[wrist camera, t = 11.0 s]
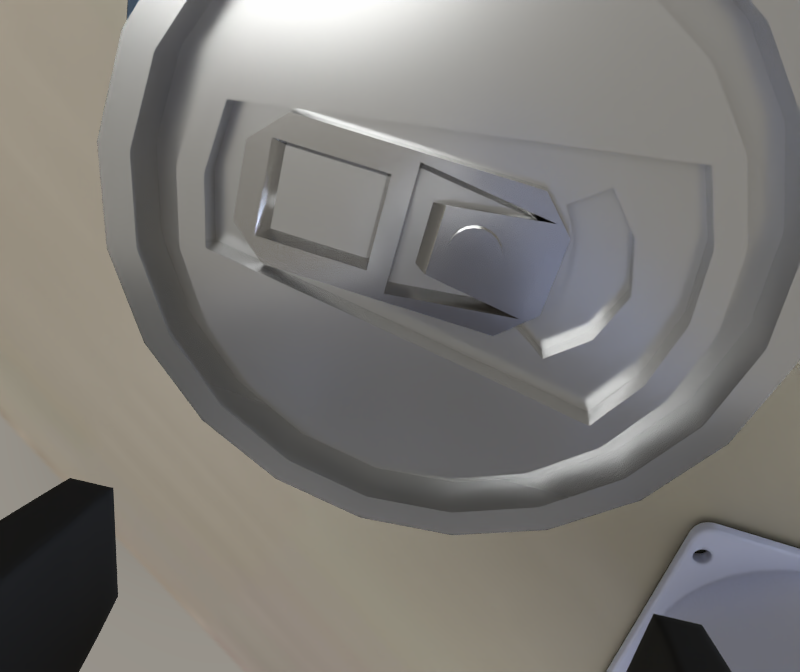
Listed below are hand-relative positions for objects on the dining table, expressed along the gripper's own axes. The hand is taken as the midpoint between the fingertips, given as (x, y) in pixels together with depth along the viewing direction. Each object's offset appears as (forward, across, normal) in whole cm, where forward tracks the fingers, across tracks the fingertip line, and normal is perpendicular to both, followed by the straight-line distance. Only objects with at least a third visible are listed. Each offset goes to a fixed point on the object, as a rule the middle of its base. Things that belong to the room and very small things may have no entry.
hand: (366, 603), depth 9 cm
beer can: (+10, 0, -6) cm, 12 cm away
